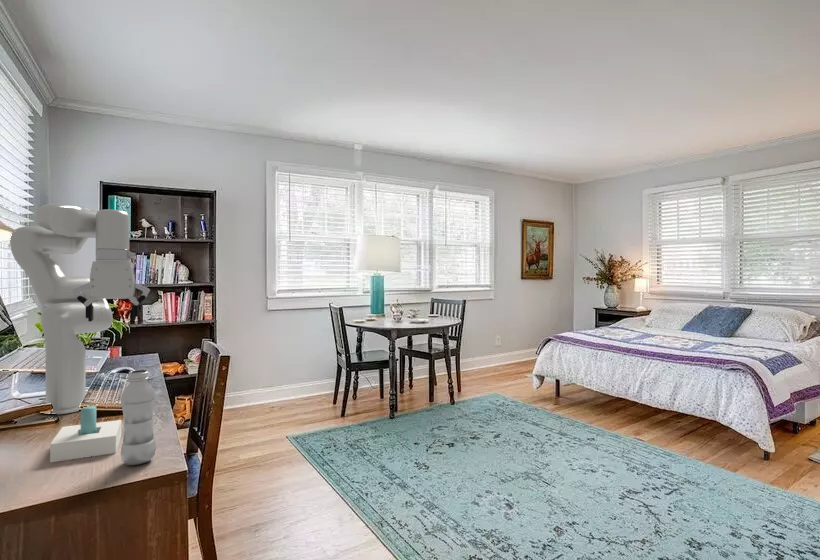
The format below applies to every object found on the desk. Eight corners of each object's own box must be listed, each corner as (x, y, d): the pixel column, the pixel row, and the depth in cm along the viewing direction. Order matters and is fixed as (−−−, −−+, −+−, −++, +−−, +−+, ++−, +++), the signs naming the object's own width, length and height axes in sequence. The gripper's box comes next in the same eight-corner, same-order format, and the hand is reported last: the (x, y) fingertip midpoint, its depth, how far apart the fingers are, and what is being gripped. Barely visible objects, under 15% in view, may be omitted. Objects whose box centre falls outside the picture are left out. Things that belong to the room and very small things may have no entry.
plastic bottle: (162, 458, 101) (163, 369, 100) (135, 471, 94) (135, 376, 94) (141, 454, 103) (141, 367, 102) (113, 466, 96) (113, 373, 96)
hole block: (62, 443, 108) (62, 426, 108) (121, 435, 114) (121, 419, 114) (50, 462, 98) (50, 444, 98) (115, 453, 103) (115, 435, 103)
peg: (81, 446, 106) (81, 406, 106) (97, 444, 108) (97, 405, 108) (79, 451, 104) (79, 410, 104) (95, 449, 105) (95, 408, 105)
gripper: (150, 257, 128) (150, 317, 128) (75, 255, 120) (75, 320, 120) (149, 257, 121) (149, 320, 121) (69, 255, 113) (69, 323, 114)
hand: (112, 320), depth 121 cm, fingers open, 9 cm apart
